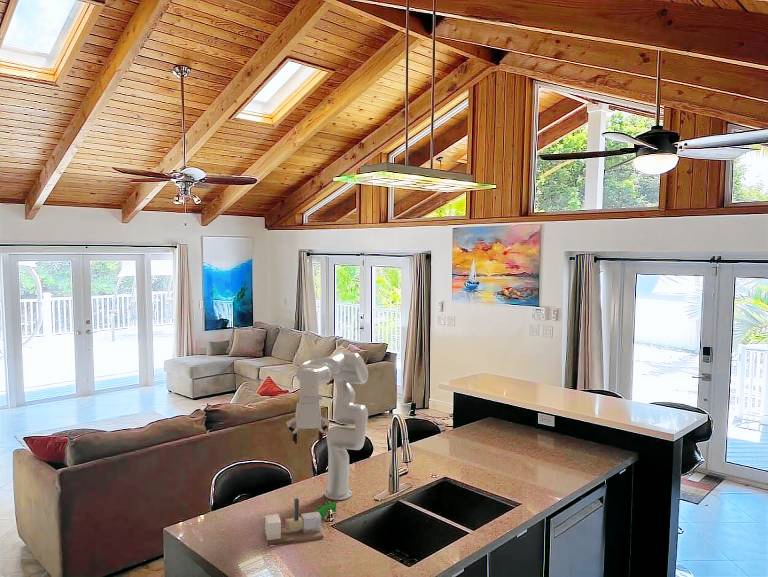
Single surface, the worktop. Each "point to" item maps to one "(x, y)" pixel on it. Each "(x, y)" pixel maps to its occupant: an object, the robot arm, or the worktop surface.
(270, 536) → the socket
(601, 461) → the worktop surface
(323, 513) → the pipe clamp
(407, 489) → the worktop surface
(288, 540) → the base board
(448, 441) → the worktop surface
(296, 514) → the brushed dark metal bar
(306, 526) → the sleeve
